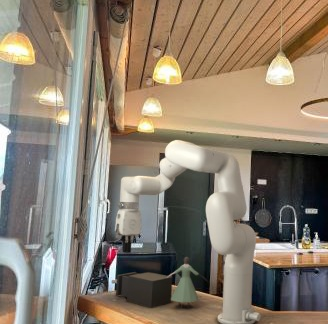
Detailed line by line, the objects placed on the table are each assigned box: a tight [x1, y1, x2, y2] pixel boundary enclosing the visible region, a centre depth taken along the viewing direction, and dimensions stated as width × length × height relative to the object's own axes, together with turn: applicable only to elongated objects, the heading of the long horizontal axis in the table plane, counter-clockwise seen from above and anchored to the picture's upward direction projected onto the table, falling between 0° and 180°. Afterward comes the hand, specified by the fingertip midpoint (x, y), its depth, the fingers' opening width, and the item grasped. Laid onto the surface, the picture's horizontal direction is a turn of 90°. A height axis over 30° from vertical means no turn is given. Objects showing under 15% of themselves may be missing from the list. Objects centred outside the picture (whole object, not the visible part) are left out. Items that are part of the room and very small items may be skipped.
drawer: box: [111, 271, 138, 298], centre depth 151 cm, size 17×9×8 cm, turn 57°
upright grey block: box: [126, 271, 173, 309], centre depth 145 cm, size 13×10×9 cm
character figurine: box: [167, 256, 210, 309], centre depth 141 cm, size 16×8×18 cm, turn 91°
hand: (126, 252), depth 155 cm, fingers closed
